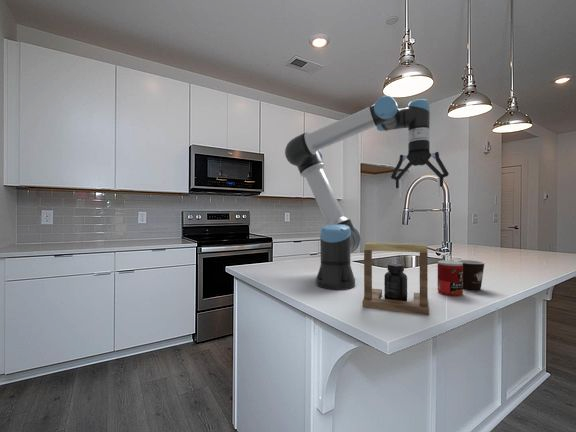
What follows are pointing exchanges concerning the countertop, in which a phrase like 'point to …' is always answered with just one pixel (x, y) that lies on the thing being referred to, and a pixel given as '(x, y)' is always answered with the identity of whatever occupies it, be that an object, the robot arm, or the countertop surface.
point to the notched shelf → (374, 295)
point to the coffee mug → (472, 274)
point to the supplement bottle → (395, 283)
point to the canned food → (450, 278)
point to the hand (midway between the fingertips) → (418, 196)
